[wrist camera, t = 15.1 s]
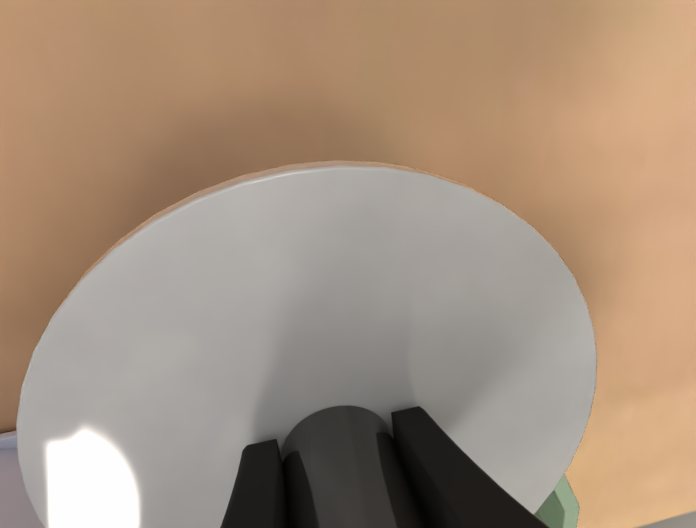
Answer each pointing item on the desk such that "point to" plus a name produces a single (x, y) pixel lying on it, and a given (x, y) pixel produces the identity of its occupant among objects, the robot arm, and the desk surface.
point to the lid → (306, 352)
